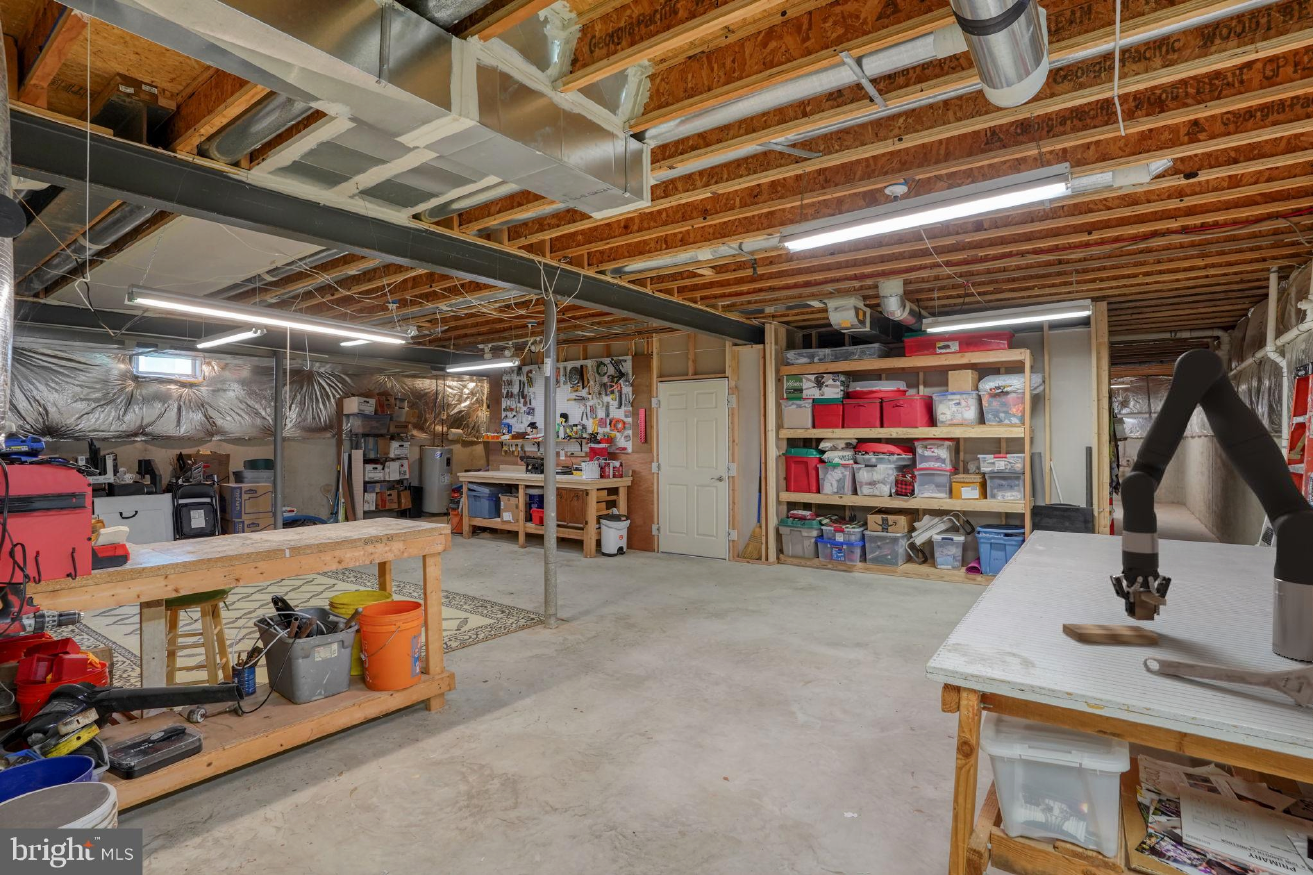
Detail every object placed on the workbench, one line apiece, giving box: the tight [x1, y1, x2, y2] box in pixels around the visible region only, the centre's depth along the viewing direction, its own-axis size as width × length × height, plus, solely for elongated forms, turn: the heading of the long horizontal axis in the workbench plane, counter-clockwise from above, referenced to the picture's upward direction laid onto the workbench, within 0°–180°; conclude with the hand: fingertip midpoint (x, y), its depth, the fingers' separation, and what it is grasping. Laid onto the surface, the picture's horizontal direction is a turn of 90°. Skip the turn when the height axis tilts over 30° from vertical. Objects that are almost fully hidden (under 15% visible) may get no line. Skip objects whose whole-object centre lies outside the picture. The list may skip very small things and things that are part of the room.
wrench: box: [1142, 655, 1313, 708], centre depth 124 cm, size 8×2×30 cm
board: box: [1062, 623, 1159, 645], centre depth 155 cm, size 18×7×2 cm, turn 84°
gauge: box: [1127, 588, 1167, 622], centre depth 159 cm, size 4×10×7 cm, turn 174°
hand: (1140, 615), depth 162 cm, fingers closed on gauge, 4 cm apart
